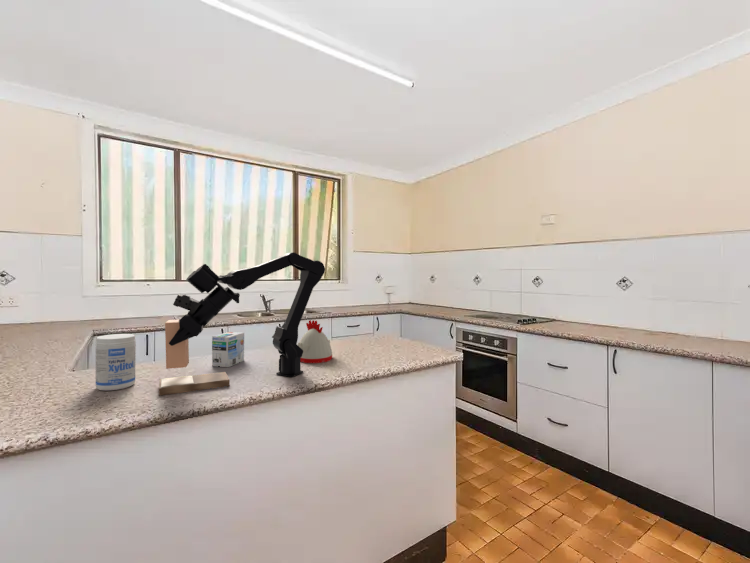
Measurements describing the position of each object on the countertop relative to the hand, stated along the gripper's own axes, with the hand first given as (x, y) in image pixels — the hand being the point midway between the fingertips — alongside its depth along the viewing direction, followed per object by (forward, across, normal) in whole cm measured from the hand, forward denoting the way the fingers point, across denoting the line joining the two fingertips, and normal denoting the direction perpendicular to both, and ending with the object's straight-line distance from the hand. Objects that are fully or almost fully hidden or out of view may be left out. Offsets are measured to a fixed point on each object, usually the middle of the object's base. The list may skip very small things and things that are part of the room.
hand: (172, 342), depth 105 cm
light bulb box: (0, -25, +20) cm, 32 cm away
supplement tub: (+21, -7, -2) cm, 22 cm away
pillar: (+4, 0, +6) cm, 7 cm away
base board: (+5, -1, +14) cm, 15 cm away
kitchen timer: (-22, -24, +42) cm, 53 cm away
